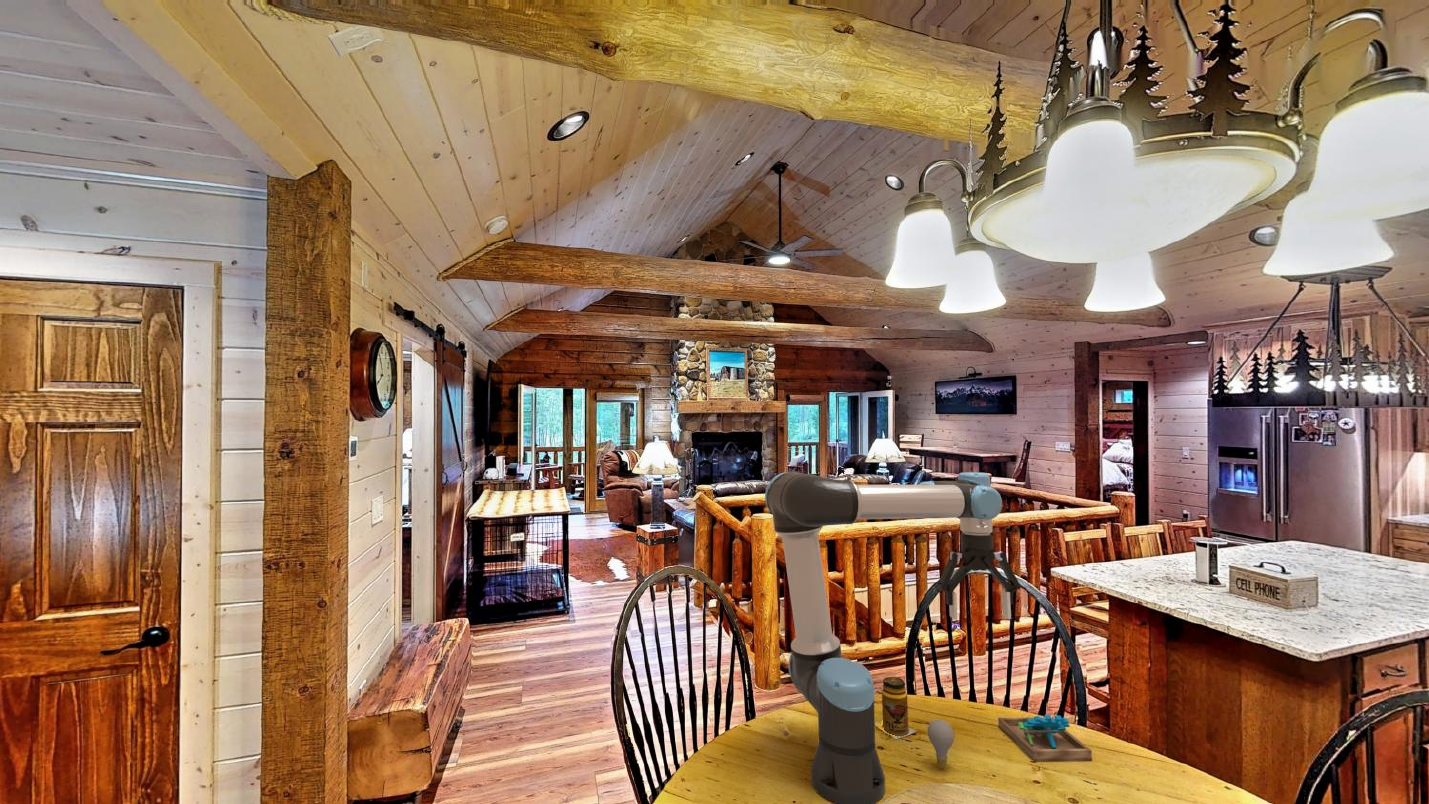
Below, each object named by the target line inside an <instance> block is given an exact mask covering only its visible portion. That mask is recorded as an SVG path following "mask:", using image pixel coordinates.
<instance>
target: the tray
mask: <svg viewBox="0 0 1429 804" xmlns="http://www.w3.org/2000/svg"><path fill="white" fill-rule="evenodd" d="M1034 717H1035V716H1033V717H1031V716H1029V717H1026V716H1025V717H997V719H998V723H997V724H998V728H999V729H1000V730H1001V732H1003V733H1004V734H1005V735H1006V736H1007V737H1008V738H1009V739H1010V740H1011V741H1012V742H1013V743H1014V744H1015V745H1016V746H1017V745H1018V746H1019V747H1020V748H1021V749H1022V750H1021V749H1020V748H1019V747H1018V746H1017V747H1018V748H1019V749H1020V750H1021V751H1023V753H1025V755H1026V756H1027V757H1028V758H1029V759H1030V760H1031V761H1033V762H1035V763H1036V762H1037V763H1038V762H1043V763H1044V762H1047V763H1048V762H1093V753H1092V752H1093V751H1092V750H1091V748H1089V747H1087V746H1086V745H1085V744H1084V743H1083V742H1082V741H1080V740H1079V739H1078V738H1077V737H1076V736H1075V735H1073V734H1072V733H1071V732H1069V731H1068V730H1067V729H1066V730H1065V731H1061V730H1058V733H1052V736H1053V739H1054V742H1055V744H1056V747H1057V748H1056V749H1052V747H1051V744H1050V741H1049V739H1048V736H1047V734H1046V735H1030V736H1031V739H1032V742H1033V745H1032V746H1031V745H1030V743H1029V740H1028V737H1027V735H1025V734H1024V731H1023V730H1024V729H1023V730H1021V729H1020V728H1019V725H1018V722H1022V723H1024V722H1026V720H1027V719H1033V720H1034ZM1040 717H1041V718H1045V716H1044V717H1043V716H1040Z"/></svg>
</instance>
